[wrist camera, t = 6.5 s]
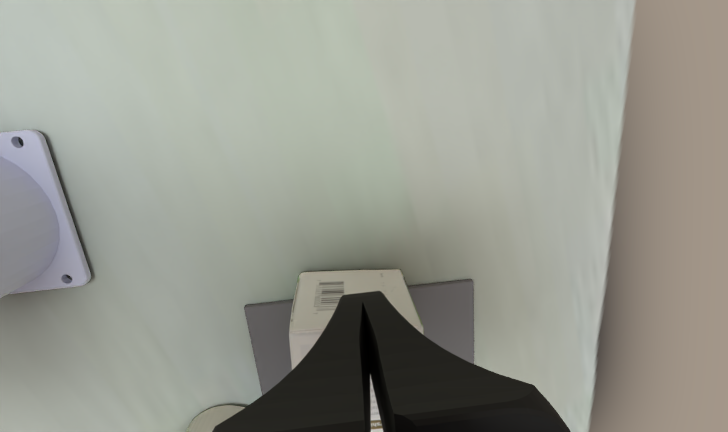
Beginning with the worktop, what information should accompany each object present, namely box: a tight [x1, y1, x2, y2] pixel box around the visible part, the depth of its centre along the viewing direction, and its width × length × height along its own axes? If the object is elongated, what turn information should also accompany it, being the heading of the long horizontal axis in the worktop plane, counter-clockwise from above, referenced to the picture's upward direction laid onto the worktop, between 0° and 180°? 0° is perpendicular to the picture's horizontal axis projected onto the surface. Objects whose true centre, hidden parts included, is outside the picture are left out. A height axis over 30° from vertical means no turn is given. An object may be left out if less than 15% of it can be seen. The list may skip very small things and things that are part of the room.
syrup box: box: [289, 269, 424, 432], centre depth 20 cm, size 6×6×14 cm
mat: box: [244, 279, 474, 395], centre depth 23 cm, size 13×14×1 cm
